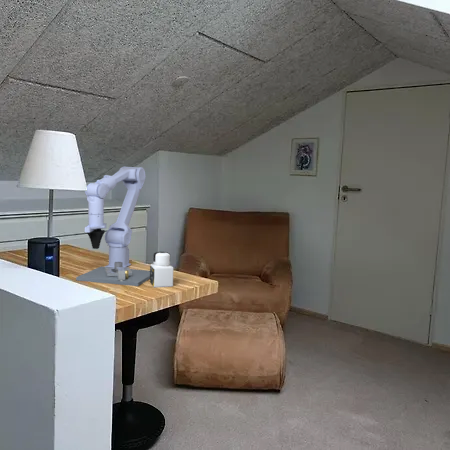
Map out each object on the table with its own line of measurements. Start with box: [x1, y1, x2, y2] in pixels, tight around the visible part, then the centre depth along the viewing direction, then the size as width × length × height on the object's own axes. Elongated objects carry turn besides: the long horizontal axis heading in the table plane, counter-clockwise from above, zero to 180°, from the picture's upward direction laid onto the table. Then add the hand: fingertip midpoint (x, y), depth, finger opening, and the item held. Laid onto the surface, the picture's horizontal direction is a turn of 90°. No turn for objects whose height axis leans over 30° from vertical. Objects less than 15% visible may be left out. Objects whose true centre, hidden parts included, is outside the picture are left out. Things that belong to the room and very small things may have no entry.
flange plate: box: [105, 266, 132, 280], centre depth 169 cm, size 15×9×4 cm, turn 20°
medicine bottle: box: [149, 251, 174, 288], centre depth 164 cm, size 7×7×12 cm
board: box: [75, 262, 150, 287], centre depth 172 cm, size 20×24×6 cm
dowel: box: [125, 270, 129, 279], centre depth 166 cm, size 2×2×3 cm
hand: (95, 248), depth 176 cm, fingers closed
